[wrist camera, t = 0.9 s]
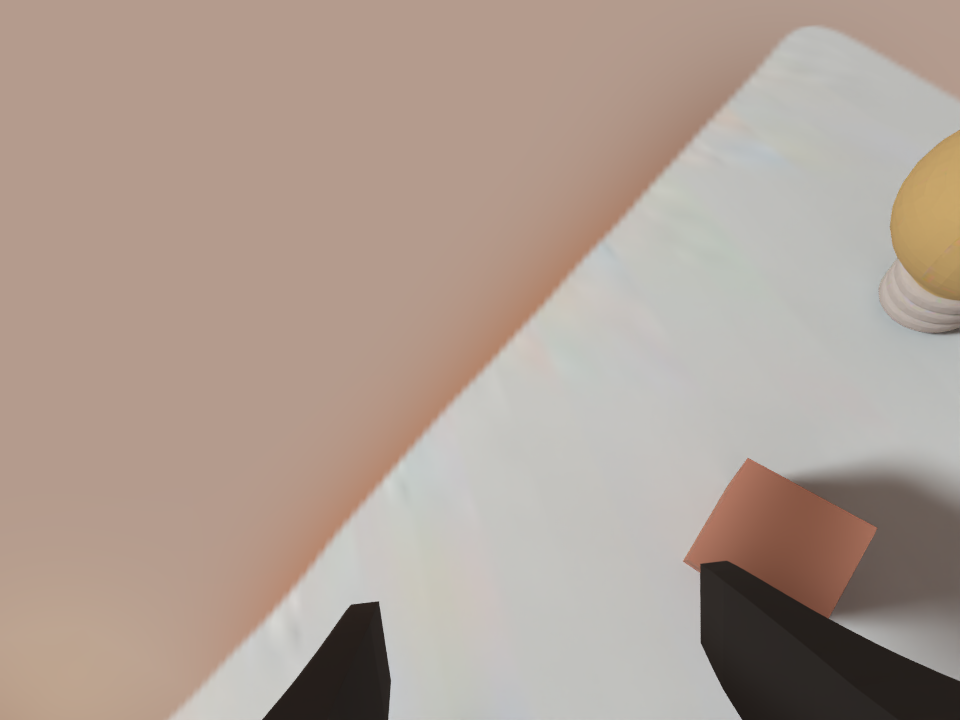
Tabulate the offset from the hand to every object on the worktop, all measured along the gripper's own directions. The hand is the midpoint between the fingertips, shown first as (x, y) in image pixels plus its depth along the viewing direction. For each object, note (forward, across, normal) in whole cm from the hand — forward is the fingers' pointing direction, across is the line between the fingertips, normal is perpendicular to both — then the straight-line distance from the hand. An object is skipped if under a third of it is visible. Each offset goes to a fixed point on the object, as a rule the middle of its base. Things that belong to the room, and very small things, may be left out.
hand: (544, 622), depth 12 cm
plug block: (+10, -10, +6) cm, 16 cm away
